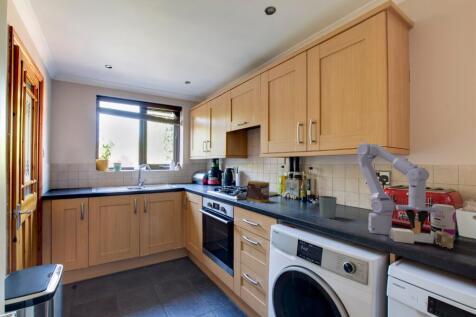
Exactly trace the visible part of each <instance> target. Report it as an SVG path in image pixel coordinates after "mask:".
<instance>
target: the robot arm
mask: <svg viewBox="0 0 476 317" xmlns="http://www.w3.org/2000/svg"><path fill="white" fill-rule="evenodd" d="M356 154H357V156H358V157H357V158H358V166H359V167H360V170H361V172H362V175H363V177H364V178H363V179H365V182H366V184H367V186H368V187H367V188H368V189H369V191H370V194H371V197H370V198H369V200H370V208H371V210H372V212H369V213H368V228H367V229H368V231H369V232H370V233H371V234H379V235H387V236H389V230H391V228H393V227H392V225H393V223H392V222H393V212H395V210H397V211H404V212H405V214H406V216H407V218H408V221H409V224H410V229H412V228H413V229H414V228H415V219H416V214H417V220H418V221H420V222H421V228H420V230H422V229H423V226H424V224H425V221H426V220H427V218H428V217H429V216H430V213H431V212H433V213H439V209H438V208H433V207H432V206H431V207H430V206H426V199H427V198H426V195H427V194H426V193H427V180H428V179H429V177H430V173H429V171H428V170H427V169H426V168H425V167H419V165H418V164H414V163H412V162H411V161H409V159H408V158H407V157H397V156H396V155H394V154H393V153H391V152H389V150H387V149H385V147H383V146H381V145H379V144H377V143H365V142H361V143H360V144H359V145H358V147H357V149H356ZM377 157H380V158H382V159H383V160H385V161H387V162H389V163H391V164H392V167H393V168H394V169H395V170H397V171H399V172H400V173H401V174H403V175H404V176H405V177H406V179H407V181H408V204H396V203H395V201H393V200H392V199H391V197H390V196H389V195H388V194H387V193H386V192H385V191H384V188H383V186H382V185H381V182H380V180H379V177H378V175H377V174H376V170H375V168H374V166H373V164H372V163H373V161H374V160H375V159H376V158H377ZM416 212H417V213H416Z"/></svg>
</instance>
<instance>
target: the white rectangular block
mask: <svg viewBox="0 0 476 317" xmlns="http://www.w3.org/2000/svg"><path fill="white" fill-rule="evenodd" d="M391 230H393V231H394V239H392V241H393V242H398V243H407V244H413V245H414V244H415V241H414V232H413V231H412V229H408V228H407V229H406V228H399V227H397V228H396V227H392V228H391Z"/></svg>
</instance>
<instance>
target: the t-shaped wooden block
mask: <svg viewBox="0 0 476 317" xmlns="http://www.w3.org/2000/svg"><path fill="white" fill-rule="evenodd" d="M420 228H421V222H420V221H418V219H417V220H415V228H414V229H413V228H411V231H413V232H414V242H417V243H427V244H434V242H435V241H434V240H435V239H434V236H433V235H431V233H425V232H421V229H420ZM388 237H389V239H391V240H393V239H394V231H393V230H389V235H388Z"/></svg>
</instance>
